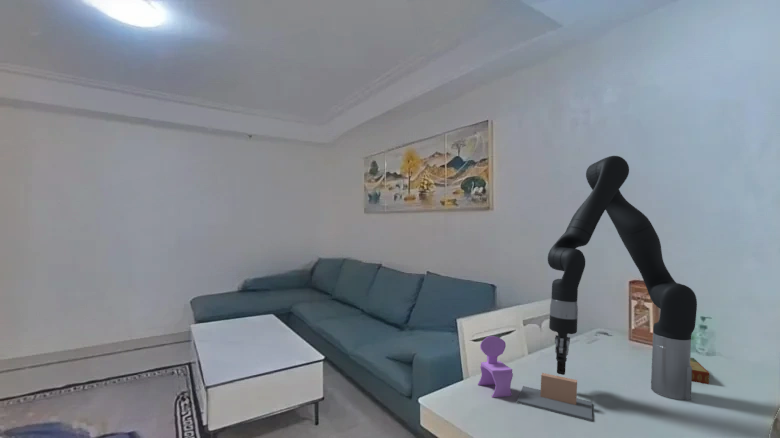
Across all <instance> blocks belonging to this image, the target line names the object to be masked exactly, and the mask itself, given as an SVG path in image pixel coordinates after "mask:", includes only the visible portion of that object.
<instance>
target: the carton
mask: <svg viewBox="0 0 780 438" xmlns="http://www.w3.org/2000/svg"><path fill="white" fill-rule="evenodd" d="M690 365H691V367H692V383H698V384H699V383H700V384H705V385H709V384H710V372H709V371H708V370H707V369H706V367H704V366H703V365H702V364H701V363H700V362H698V360H697V359H695V358H694V357H690Z"/></svg>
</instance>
